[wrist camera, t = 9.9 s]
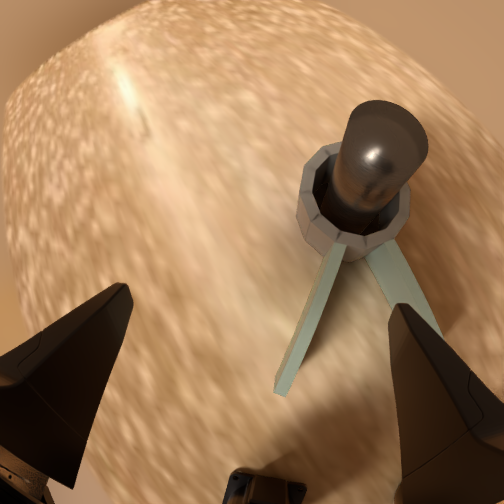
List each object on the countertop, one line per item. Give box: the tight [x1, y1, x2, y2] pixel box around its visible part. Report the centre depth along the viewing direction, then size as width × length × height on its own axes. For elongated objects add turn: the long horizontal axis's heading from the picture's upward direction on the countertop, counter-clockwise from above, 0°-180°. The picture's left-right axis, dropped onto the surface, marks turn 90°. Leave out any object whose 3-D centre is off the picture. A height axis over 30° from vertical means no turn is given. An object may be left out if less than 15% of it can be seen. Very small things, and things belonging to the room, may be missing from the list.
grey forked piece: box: [273, 142, 445, 397], centre depth 20 cm, size 18×13×5 cm
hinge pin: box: [320, 100, 428, 235], centre depth 18 cm, size 4×4×12 cm
